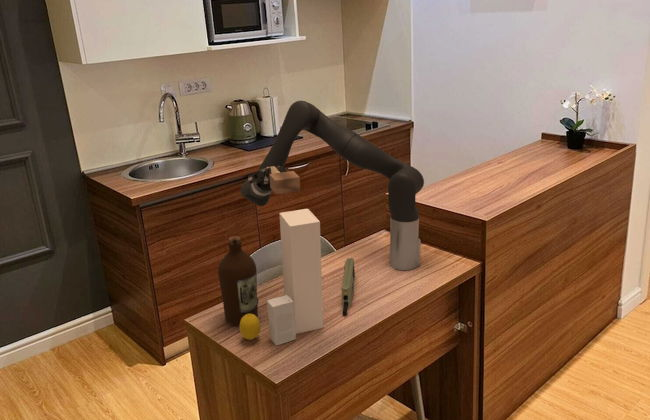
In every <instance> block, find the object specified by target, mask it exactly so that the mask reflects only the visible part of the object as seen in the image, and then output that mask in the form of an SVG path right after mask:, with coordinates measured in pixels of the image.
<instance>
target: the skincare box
mask: <svg viewBox="0 0 650 420" xmlns="http://www.w3.org/2000/svg"><path fill="white" fill-rule="evenodd" d="M266 307H267V315H268V317H267V318H268V328H269V338H270V341H272V343H273V344H274V345H275V346H280V345H282V344H286V343H289V342H291V341H295V340H296V339H297V337H296V335H297V334H296V333H295V318H294V302H293V300H292V299H291V298H290V297H289V296H288V295H282V296H278V297H275V298H274V297H273V298H270V299H268V300H266Z"/></svg>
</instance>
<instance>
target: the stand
mask: <svg viewBox="0 0 650 420" xmlns="http://www.w3.org/2000/svg"><path fill="white" fill-rule="evenodd" d="M279 226H280V227H279V229H280V242H281V243H280V244H281V245H280V246H281V260H282V261H281V263H282V264H281V265H282V277H283V278H282V279H283V281H282V282H283V294H284V295H288V296H289V297H290V298H291V299H292V300H293V302H294V318H295V333H296V335H297V334H302V333H306V332H311V331H315V330H319V329H320V330H321V329H324V314H323V313H324V309H323V280H322V279H323V277H322V276H323V275H322V274H323V273H322V251H321V250H322V247H321V246H322V245H321V241H322V240H321V222H320V220H319V219H318V218H317V217H316V216H315V215H314V213H313V212H312V211H310V209H309V208H303V209H297V210H296V209H295V210H290V211H282V212H279ZM284 295H283V296H284Z"/></svg>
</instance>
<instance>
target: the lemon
mask: <svg viewBox="0 0 650 420" xmlns="http://www.w3.org/2000/svg"><path fill="white" fill-rule="evenodd" d="M239 332H240V334H241V336H242V337H243V338H244V339H246V340H250V341H252V340H253V339H255V338H257V337H258V336H259V334H260V333H261V321H260V320H259V318H258V317H256V316H255V315H253V314H246V315H245V316H243V317H242V319H241V321H240V326H239Z"/></svg>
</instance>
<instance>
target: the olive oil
mask: <svg viewBox="0 0 650 420" xmlns="http://www.w3.org/2000/svg"><path fill="white" fill-rule="evenodd" d="M228 248H229V251H228V252H227V253H226V254H225V255H224V256H223V258H221V260H220V262H219V265H218V269H217V275H218V279H219V287H220V292H221V293H220V294H221V298H222V304H223V305H222V306H223V312H224V320H225V321H226V323H227V324H229V325H232V326H237V327H238V326H239V327H240V321H241V319H242V317H243V316H245V315H246V314H253V315H255V316H256V317H257V318H258V316H259V312H258V311H259V310H258V309H259V307H258V305H259V298H258V283H257V282H258V278H257V277H258V276H257V275H258V274H257V273H258V270H257V265H256V262H255V260H254V259H253V258H252V256H250V255H249V254H248V253H247V252H245V251H244V250H242V241H241V237H240V236H238V235H233V236H230V237H229V238H228Z"/></svg>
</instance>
